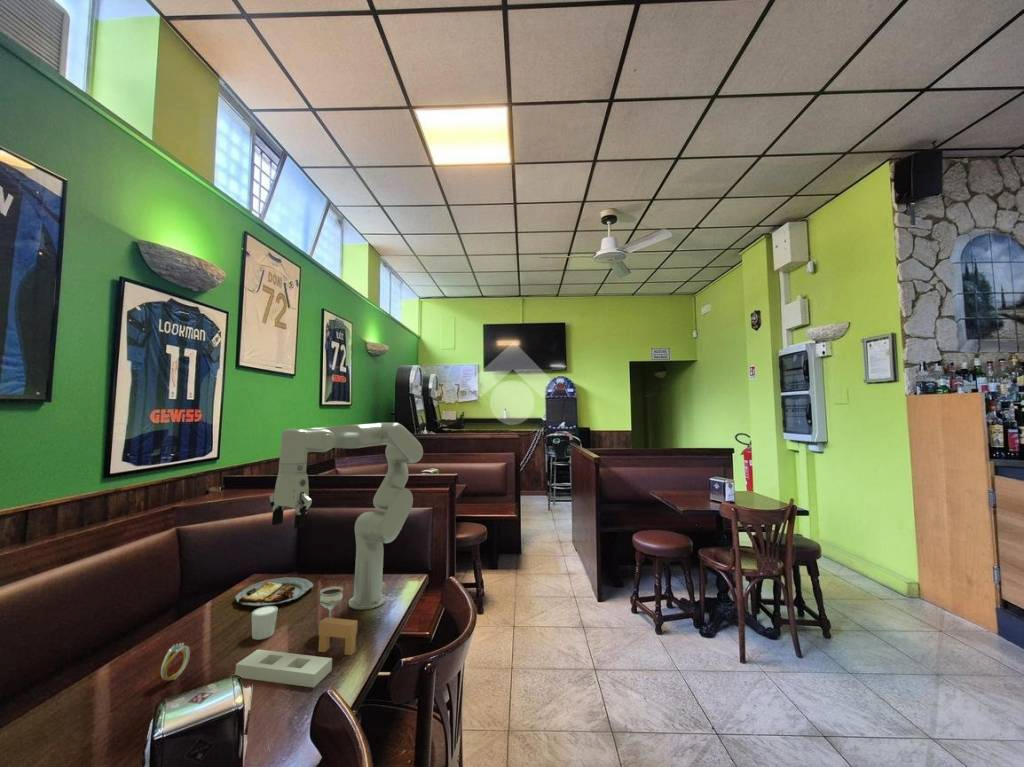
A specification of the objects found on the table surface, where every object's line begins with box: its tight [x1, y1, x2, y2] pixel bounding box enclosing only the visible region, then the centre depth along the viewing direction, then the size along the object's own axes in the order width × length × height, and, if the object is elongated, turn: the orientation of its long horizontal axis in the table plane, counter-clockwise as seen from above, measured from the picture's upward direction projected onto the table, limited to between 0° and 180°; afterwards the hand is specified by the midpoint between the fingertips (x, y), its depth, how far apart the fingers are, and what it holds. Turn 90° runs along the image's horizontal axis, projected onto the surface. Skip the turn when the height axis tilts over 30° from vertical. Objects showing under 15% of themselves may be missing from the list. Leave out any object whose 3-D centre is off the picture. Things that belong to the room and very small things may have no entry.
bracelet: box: [160, 642, 191, 682], centre depth 101 cm, size 7×3×8 cm, turn 172°
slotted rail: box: [234, 649, 333, 688], centre depth 103 cm, size 7×22×3 cm, turn 80°
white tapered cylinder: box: [251, 605, 279, 640], centre depth 122 cm, size 7×7×7 cm
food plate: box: [234, 576, 314, 608], centre depth 150 cm, size 25×23×4 cm
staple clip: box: [318, 616, 359, 656], centre depth 114 cm, size 3×10×8 cm, turn 80°
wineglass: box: [318, 585, 344, 618], centre depth 125 cm, size 7×7×12 cm
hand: (288, 525), depth 123 cm, fingers open, 9 cm apart
